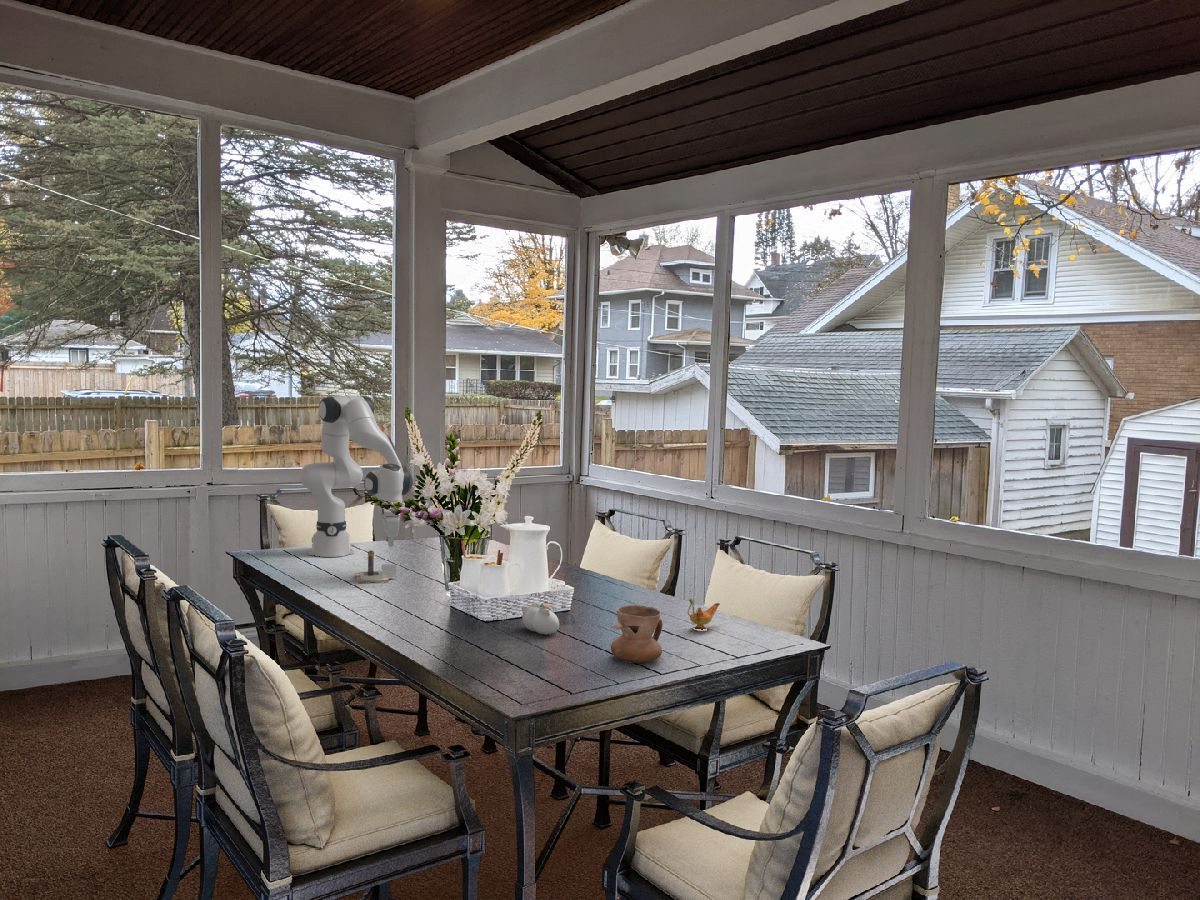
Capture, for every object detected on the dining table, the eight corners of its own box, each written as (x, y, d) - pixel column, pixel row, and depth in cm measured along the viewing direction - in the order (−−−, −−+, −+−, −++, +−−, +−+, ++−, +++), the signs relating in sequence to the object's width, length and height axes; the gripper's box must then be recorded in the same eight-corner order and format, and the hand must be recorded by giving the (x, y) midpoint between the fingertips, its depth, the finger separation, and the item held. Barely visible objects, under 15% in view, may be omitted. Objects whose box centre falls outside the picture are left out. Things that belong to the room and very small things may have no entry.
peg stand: (355, 575, 341) (355, 546, 340) (384, 574, 344) (385, 545, 343) (357, 583, 328) (358, 553, 327) (388, 582, 332) (388, 552, 331)
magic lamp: (727, 625, 290) (729, 592, 289) (695, 636, 277) (697, 601, 276) (709, 621, 295) (711, 588, 294) (677, 631, 281) (679, 597, 280)
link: (359, 575, 337) (359, 563, 337) (394, 573, 342) (394, 562, 341) (360, 580, 330) (360, 568, 329) (396, 578, 334) (396, 567, 334)
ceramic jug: (630, 671, 241) (633, 620, 240) (596, 656, 252) (599, 607, 251) (677, 661, 253) (681, 612, 251) (643, 647, 264) (646, 600, 263)
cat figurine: (561, 606, 270) (527, 591, 280) (543, 623, 266) (509, 608, 275) (569, 629, 275) (535, 613, 285) (551, 646, 271) (518, 630, 280)
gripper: (379, 502, 344) (378, 538, 345) (384, 512, 324) (383, 549, 326) (395, 502, 346) (394, 538, 347) (402, 512, 327) (401, 549, 328)
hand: (389, 543), depth 336 cm, fingers open, 8 cm apart
